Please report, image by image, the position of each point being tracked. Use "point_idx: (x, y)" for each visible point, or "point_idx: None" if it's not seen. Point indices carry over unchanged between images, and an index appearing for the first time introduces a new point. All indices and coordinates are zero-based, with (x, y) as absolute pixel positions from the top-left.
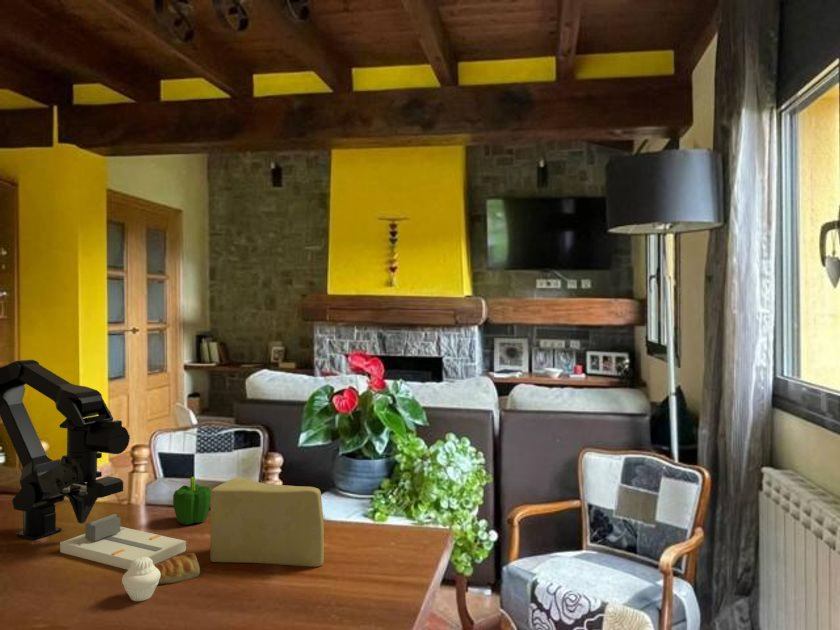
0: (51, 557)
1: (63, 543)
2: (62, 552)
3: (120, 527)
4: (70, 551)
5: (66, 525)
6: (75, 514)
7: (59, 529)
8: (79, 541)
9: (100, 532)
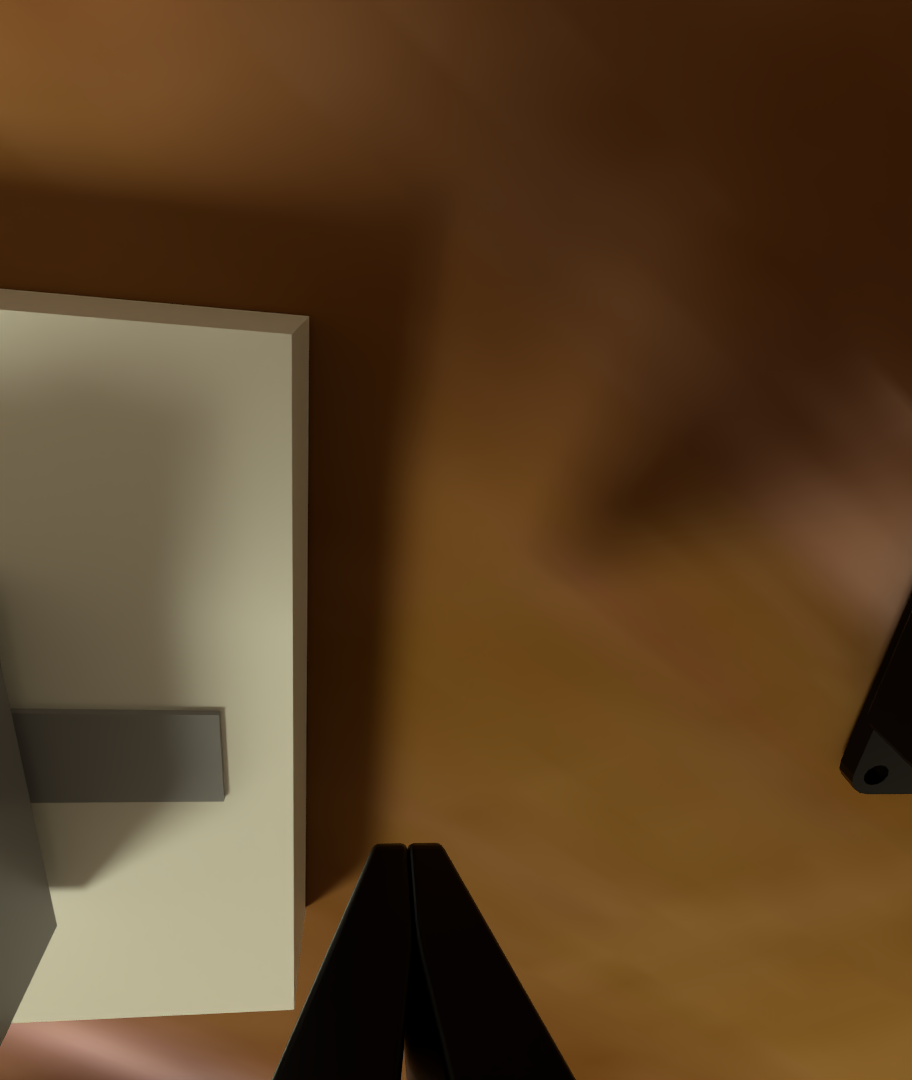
0: (237, 97)
1: (205, 329)
2: (257, 312)
3: (94, 1004)
4: (50, 300)
5: (894, 865)
6: (504, 971)
7: (859, 764)
8: (35, 495)
9: None
